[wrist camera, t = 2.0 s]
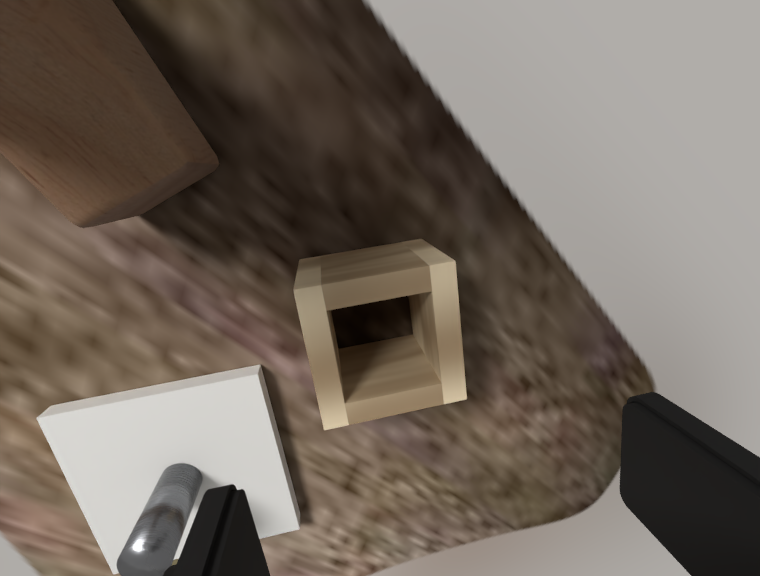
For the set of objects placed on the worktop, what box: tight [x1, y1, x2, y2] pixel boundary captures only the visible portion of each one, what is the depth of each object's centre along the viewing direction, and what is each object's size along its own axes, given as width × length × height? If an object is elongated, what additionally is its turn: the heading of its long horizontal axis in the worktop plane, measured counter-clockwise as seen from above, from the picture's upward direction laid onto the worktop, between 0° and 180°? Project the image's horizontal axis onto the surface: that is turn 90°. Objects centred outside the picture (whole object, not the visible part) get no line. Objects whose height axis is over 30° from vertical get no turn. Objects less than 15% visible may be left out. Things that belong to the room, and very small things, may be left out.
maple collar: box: [293, 239, 467, 430], centre depth 17 cm, size 6×6×5 cm
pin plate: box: [37, 364, 300, 576], centre depth 18 cm, size 10×10×6 cm
